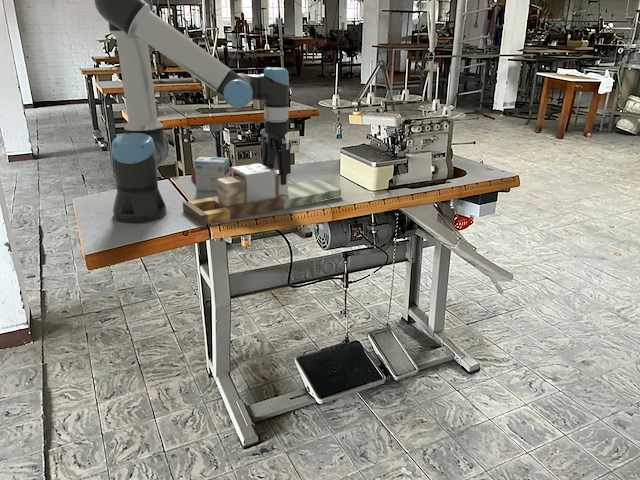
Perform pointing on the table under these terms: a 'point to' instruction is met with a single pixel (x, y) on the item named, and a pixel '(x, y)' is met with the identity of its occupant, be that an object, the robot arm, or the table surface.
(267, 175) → the matte grey cube
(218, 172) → the light bulb box
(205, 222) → the deck
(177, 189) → the table surface
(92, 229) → the table surface
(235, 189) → the maple beam
